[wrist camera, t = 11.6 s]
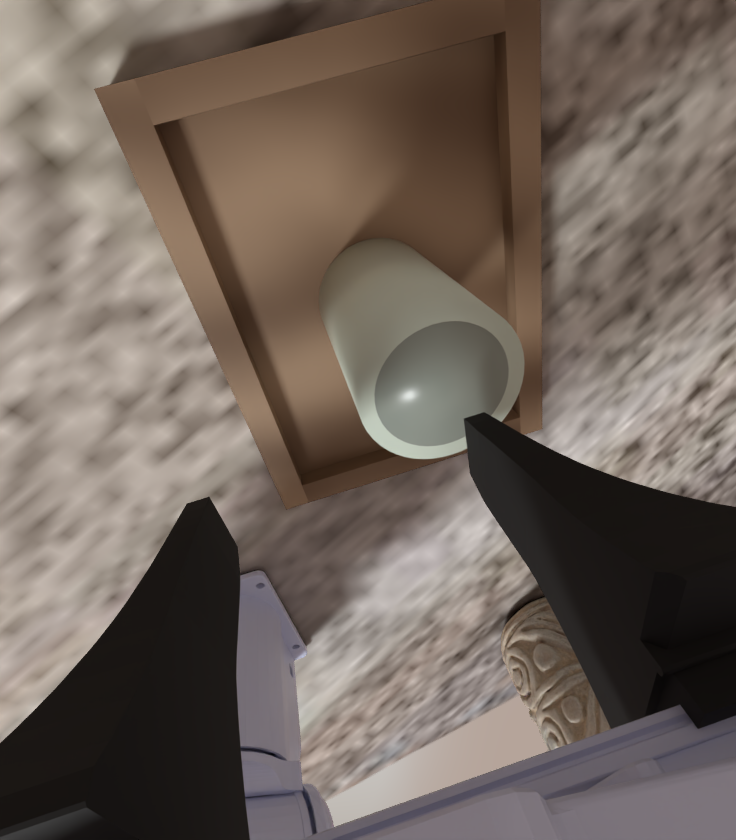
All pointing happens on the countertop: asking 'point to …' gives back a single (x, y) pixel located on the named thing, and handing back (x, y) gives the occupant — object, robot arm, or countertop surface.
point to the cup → (416, 348)
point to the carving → (550, 677)
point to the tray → (344, 203)
